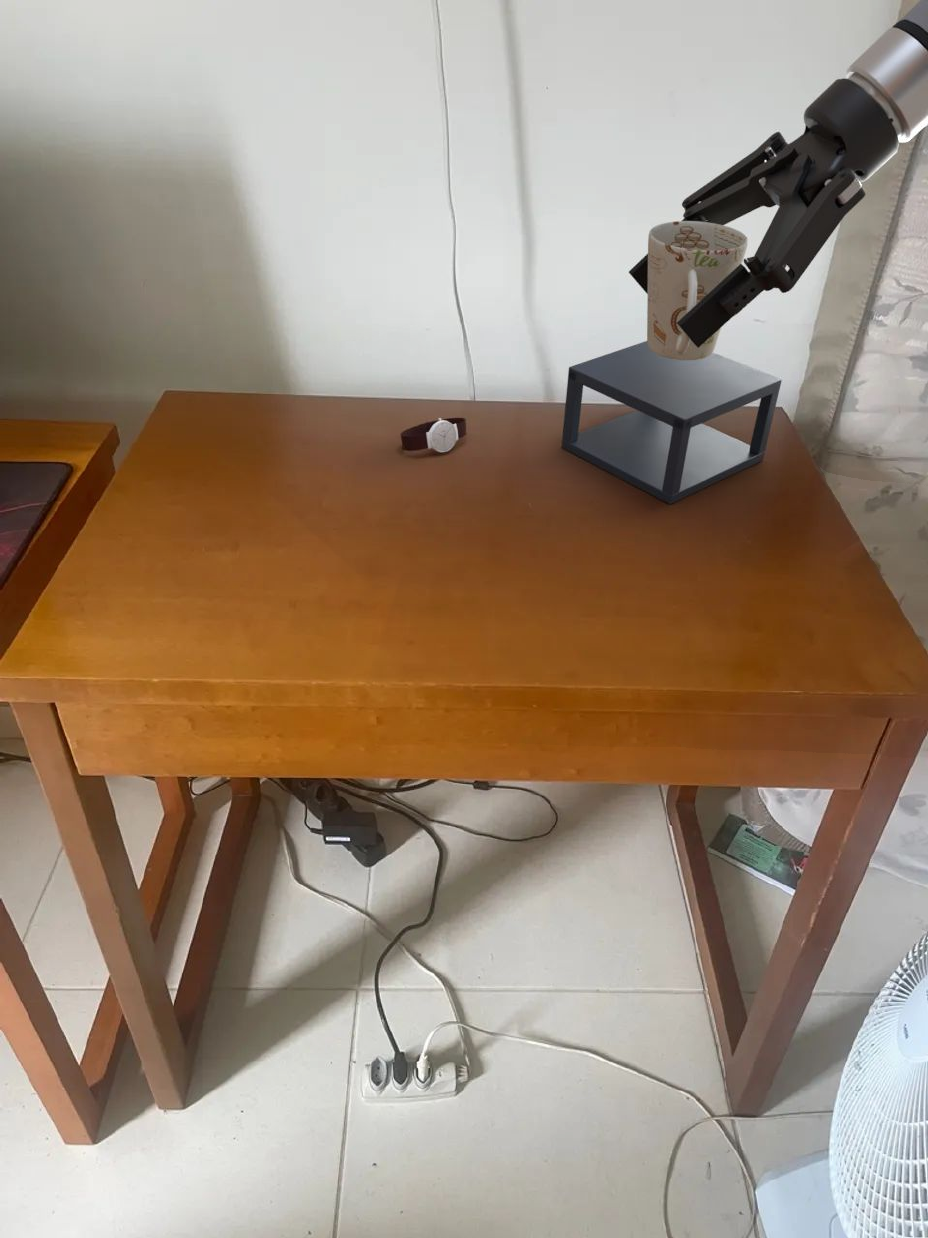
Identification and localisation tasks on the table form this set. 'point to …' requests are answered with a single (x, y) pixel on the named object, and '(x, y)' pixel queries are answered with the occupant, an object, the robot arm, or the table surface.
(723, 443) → the shelf
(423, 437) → the watch
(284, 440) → the table surface
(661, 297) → the mug
